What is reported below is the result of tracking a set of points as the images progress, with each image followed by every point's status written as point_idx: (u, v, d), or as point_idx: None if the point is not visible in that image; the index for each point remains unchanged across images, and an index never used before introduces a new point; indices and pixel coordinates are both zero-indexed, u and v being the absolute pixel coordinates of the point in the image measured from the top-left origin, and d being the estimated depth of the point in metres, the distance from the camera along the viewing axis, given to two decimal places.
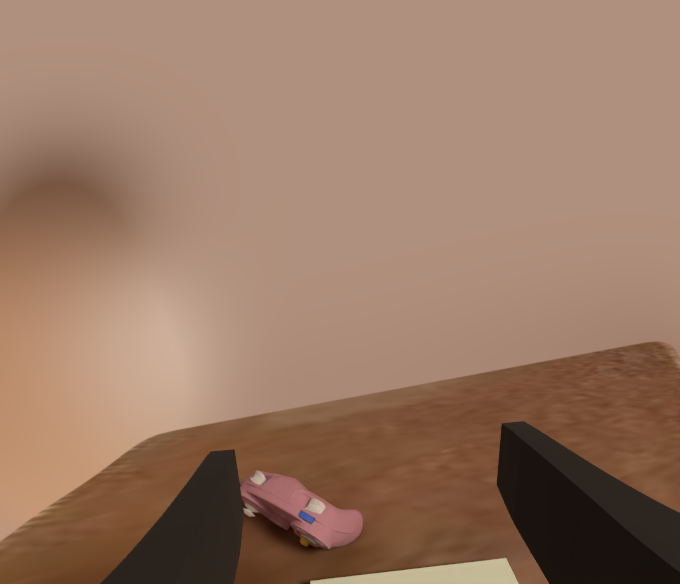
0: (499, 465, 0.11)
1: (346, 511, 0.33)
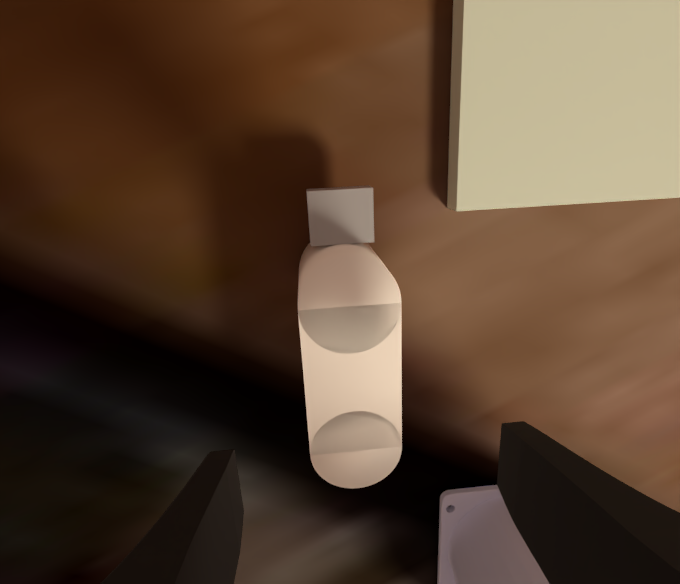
0: (499, 465, 0.11)
1: None
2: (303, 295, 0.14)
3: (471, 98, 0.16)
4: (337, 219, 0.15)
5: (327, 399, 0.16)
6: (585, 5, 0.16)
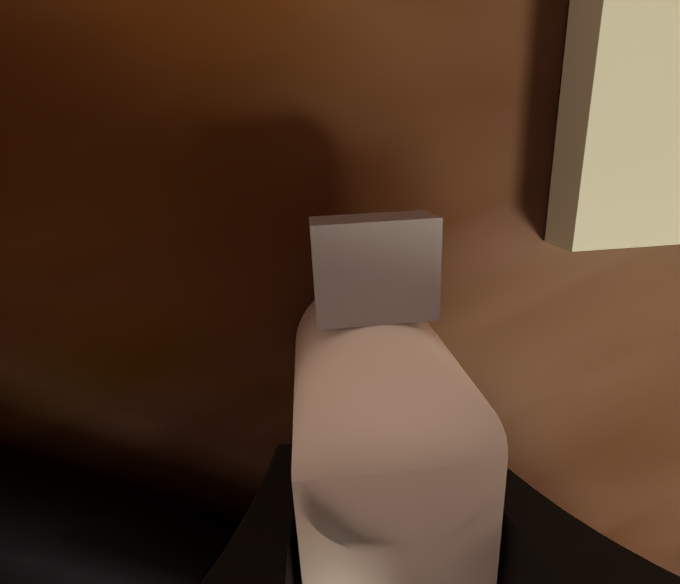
0: None
1: None
2: (303, 453, 0.07)
3: (617, 46, 0.09)
4: (370, 279, 0.08)
5: None
6: None
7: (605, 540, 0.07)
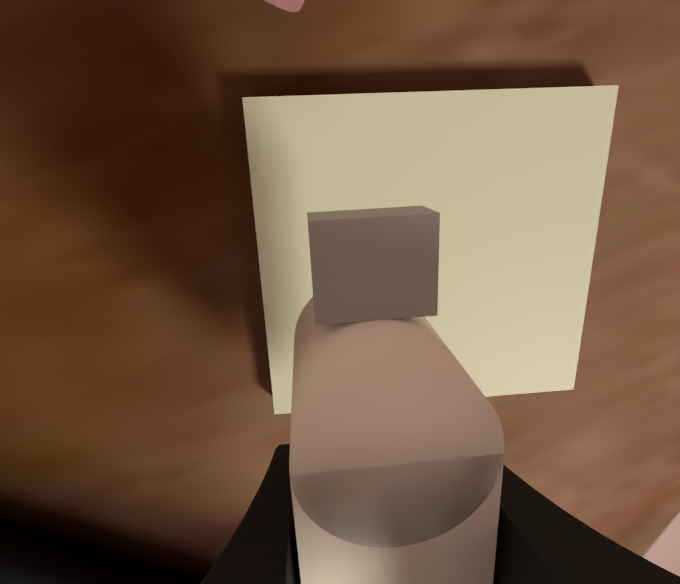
0: None
1: None
2: (301, 446, 0.07)
3: (275, 324, 0.18)
4: (368, 274, 0.08)
5: None
6: None
7: (605, 540, 0.07)
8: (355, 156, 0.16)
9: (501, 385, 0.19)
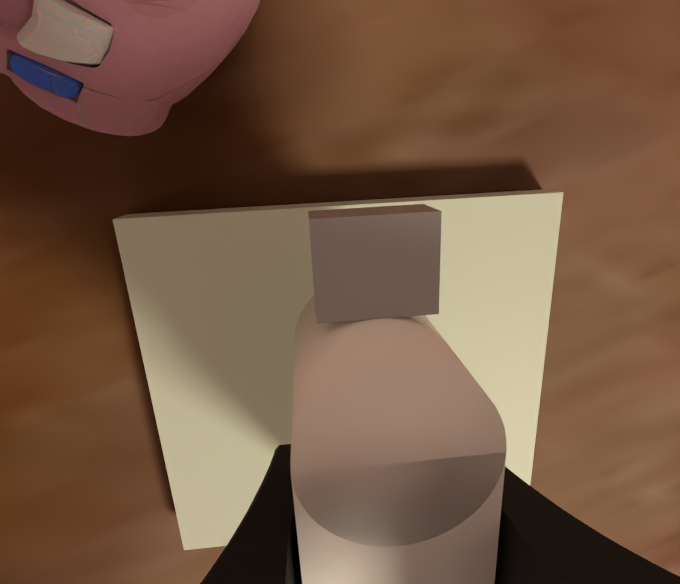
0: None
1: None
2: (302, 445, 0.07)
3: (176, 458, 0.15)
4: (369, 272, 0.08)
5: None
6: (285, 375, 0.15)
7: (605, 540, 0.07)
8: (254, 278, 0.13)
9: None
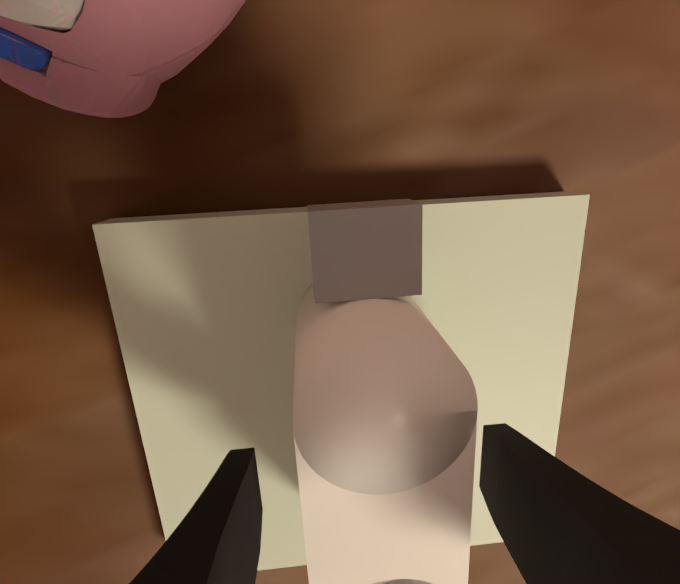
0: (481, 467, 0.11)
1: None
2: (303, 403, 0.08)
3: (166, 483, 0.14)
4: (360, 258, 0.09)
5: (344, 564, 0.09)
6: (284, 394, 0.13)
7: (677, 531, 0.07)
8: (250, 289, 0.12)
9: None
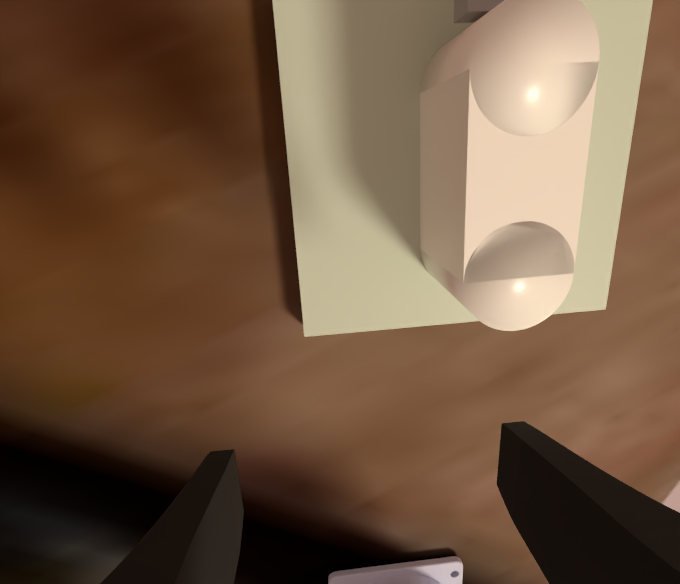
0: (499, 465, 0.11)
1: None
2: (479, 46, 0.11)
3: (305, 240, 0.17)
4: None
5: (492, 203, 0.12)
6: (405, 157, 0.17)
7: None
8: (386, 57, 0.15)
9: None
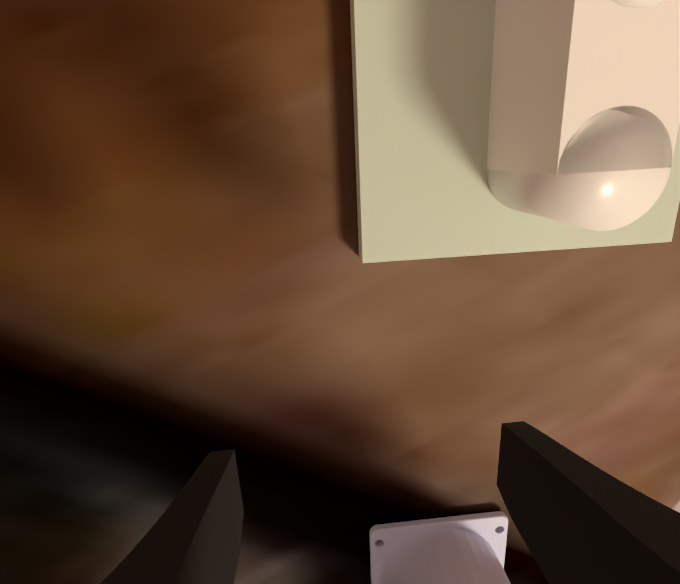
0: (499, 465, 0.11)
1: None
2: None
3: (370, 156, 0.17)
4: None
5: (593, 83, 0.12)
6: (477, 68, 0.16)
7: None
8: None
9: (597, 235, 0.18)
